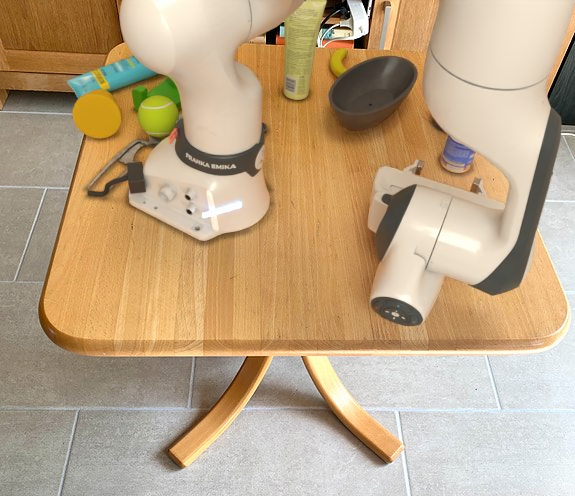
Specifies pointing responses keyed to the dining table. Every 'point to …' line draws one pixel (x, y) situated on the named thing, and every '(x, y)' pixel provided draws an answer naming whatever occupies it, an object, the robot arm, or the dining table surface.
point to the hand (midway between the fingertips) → (448, 172)
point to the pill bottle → (456, 156)
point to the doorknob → (97, 114)
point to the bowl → (371, 91)
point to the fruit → (338, 61)
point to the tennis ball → (158, 116)
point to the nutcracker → (127, 156)
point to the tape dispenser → (157, 93)
